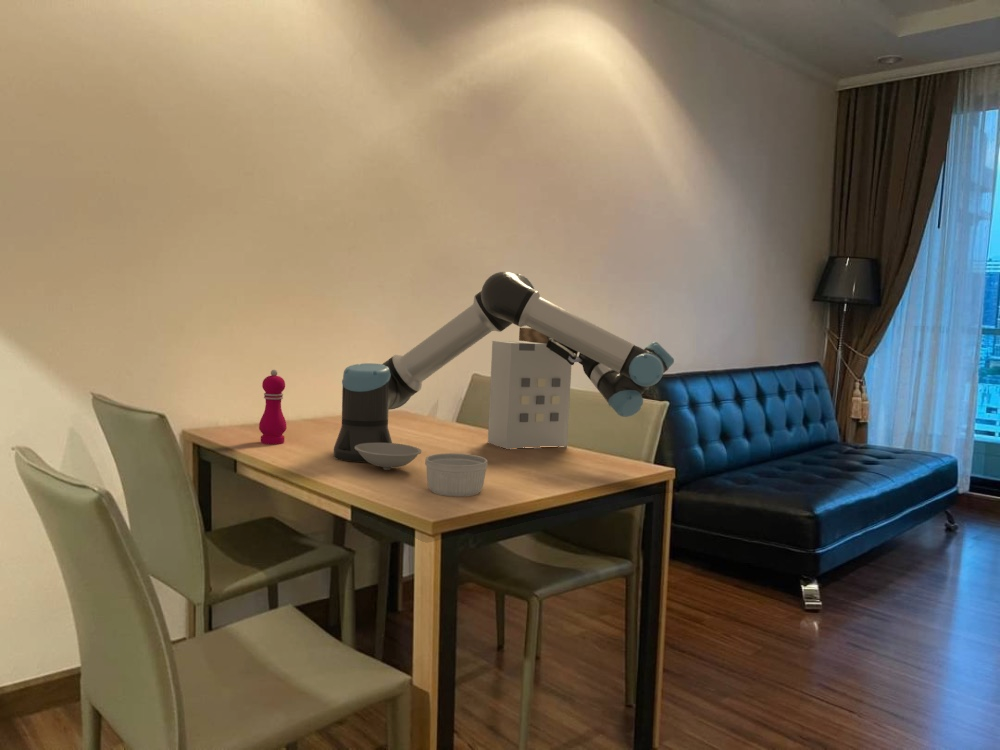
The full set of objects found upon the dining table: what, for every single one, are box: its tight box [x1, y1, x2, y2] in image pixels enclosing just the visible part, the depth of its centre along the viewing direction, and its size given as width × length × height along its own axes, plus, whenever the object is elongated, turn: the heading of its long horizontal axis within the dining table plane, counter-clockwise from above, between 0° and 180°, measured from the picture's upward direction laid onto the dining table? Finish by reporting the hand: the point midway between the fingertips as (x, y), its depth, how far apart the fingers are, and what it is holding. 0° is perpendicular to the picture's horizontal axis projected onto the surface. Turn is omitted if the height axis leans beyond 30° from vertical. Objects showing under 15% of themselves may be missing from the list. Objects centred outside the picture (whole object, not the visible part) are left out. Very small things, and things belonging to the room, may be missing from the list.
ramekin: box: [424, 452, 488, 498], centre depth 165 cm, size 13×13×7 cm
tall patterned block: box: [487, 340, 572, 450], centre depth 227 cm, size 13×20×30 cm, turn 117°
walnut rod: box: [518, 327, 548, 344], centre depth 226 cm, size 32×4×4 cm, turn 27°
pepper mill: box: [258, 369, 287, 445], centre depth 211 cm, size 7×7×20 cm
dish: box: [354, 442, 422, 471], centre depth 184 cm, size 18×14×5 cm
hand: (567, 328), depth 218 cm, fingers open, 13 cm apart
